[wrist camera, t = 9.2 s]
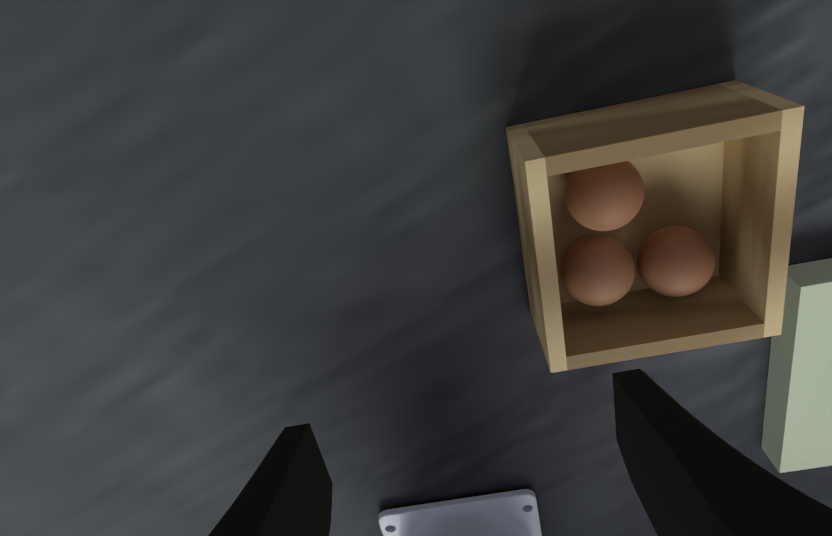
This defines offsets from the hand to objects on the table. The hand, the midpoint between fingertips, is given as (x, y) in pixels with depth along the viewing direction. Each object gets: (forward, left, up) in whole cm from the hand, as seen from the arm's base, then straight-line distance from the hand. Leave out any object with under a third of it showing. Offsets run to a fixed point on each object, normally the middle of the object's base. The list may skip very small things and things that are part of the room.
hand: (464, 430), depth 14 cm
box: (0, -7, -10) cm, 13 cm away
